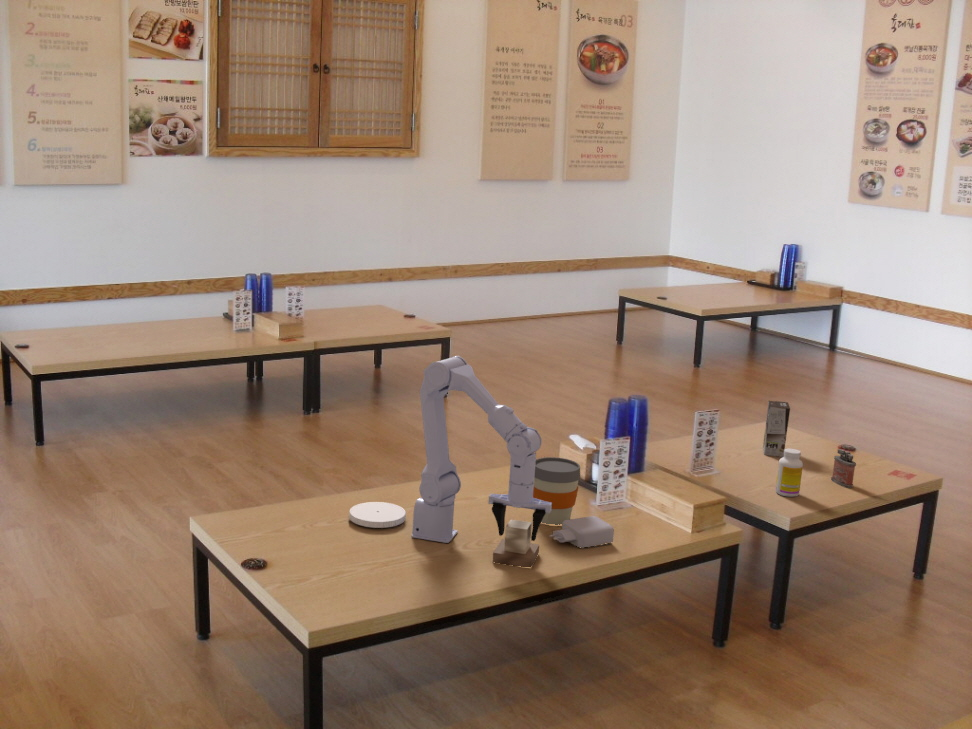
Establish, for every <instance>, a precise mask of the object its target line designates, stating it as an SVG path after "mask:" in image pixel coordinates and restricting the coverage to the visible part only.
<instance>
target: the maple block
mask: <svg viewBox="0 0 972 729" xmlns="http://www.w3.org/2000/svg"><path fill="white" fill-rule="evenodd" d="M532 528H533V521H532V522H531V521H525V520H518V519H510V520H509V521H508V523H507V524H506V525H505V530H504V533H505V534H504V539H505V547H504V551H508V552H514V553H521V554H526V552H527V551H528V549H529V548H530V543H531V542H532V541H531V536H532Z"/></svg>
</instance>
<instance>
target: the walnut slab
mask: <svg viewBox="0 0 972 729" xmlns="http://www.w3.org/2000/svg"><path fill="white" fill-rule="evenodd" d="M504 547H505V538H501V539H500V542H498V545H497V547H496V548H495V550H493V553H492V563H493V562H495V563H494V564H496V563H500V564H499V565H502V564H506V565H505V566H509V565H513V566H512V567H515V566H521V567H531V566H532V565H534V564H535V562H536V560H537V558H538V557H537V555H538V553H539V554H540V544H538V543H531V542H530V548H529V549H528V551H527V552H526V554H521V553H514V552H508V551H504ZM538 556H539V555H538ZM536 557H537V558H536ZM535 559H536V560H535ZM534 561H535V562H534ZM533 563H534V564H533ZM521 567H520V568H521ZM532 567H533V566H532Z"/></svg>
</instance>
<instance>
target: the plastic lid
mask: <svg viewBox="0 0 972 729" xmlns="http://www.w3.org/2000/svg"><path fill="white" fill-rule="evenodd" d="M348 514H349V515H348V517H349V520H350V521H351V522H352V523H354V524H356V525H358V526H362V527H366V528H373V529H375V528H377V529H378V528H379V529H380V528H381V529H383V528H392V527H397V526H398V525H401V524H403V523H404V522H405V521H406V518H407V515H406V514H407V512H406V510H405V509H404V508H403V507H402V506H400V505H397V504H395V503H391V502H386V501H384V502H383V501H369V502H361V503H358V504H355V505H353V506H351V507H350V509H349V512H348Z"/></svg>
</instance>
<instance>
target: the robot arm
mask: <svg viewBox="0 0 972 729" xmlns="http://www.w3.org/2000/svg"><path fill="white" fill-rule="evenodd" d="M422 372H423V380H422V383H421V386H420V389H419V394H420V407H421V417H422V425H423V426H422V427H423V436H424V445H425V447H424V448H425V455H426V456H425V458H426V465H425V466H424V468H423V470H422V472H421V475H420V476H421V478H420V479H421V482H420V485H419V490H418V491H419V495H420V497H418V498H417V499H416V500H415V503H414V508H413V515H412V517H413V518H412V531H411V532H412V533H411V536H410V537H411V538H413V539H414V538H415V539H418V540H420V539H421V540H426V541H432V542H438V543H439V542H440V543H446V544H448V543H450V542H451V541H452V540H453V538H454V537H455V536H456V535H457V533H458V529H454V514H455V512H454V511H455V501H456V500H455V499H456V495H457V494H458V493H459V492H460V490H461V488H462V487H461V486H462V481H461V478H460V476H459V474H458V472H457V466H456V465H455V464H454V463H453V461H451V460H450V451H449V449H450V448H449V440H448V439H449V438H448V431H447V427H448V426H447V419H446V408H445V400H444V398H445V396H446V395H447V393H449V392H450V391H456V392H457V391H458V392H464V393H465V394H466V395H467V396H468V397H469V399H471V400H472V401H473V402H475V403H476V405H477V406H479V408H481V409H482V410H483V411H484V412H485V413H486V414H487V422H488V424H490V426H491V427H492V428H493V430H495V432H496V433H498V435H499V436H500V437H501V438H502V439H503V440H504V441H505V442H506V449H507V452H508V453H509V454H510V455H509V456H510V460H509V461H510V463H509V464H510V466H509V478H508V479H509V480H508V493H507V494H505V493H504V494H501V493H498V494H497V493H490V494H489V496H488V501H487V502H488V503H487V504H488V505H492V507H491V512H492V514H493V516H494V518H495V521H496V524H497V528H498V536H500V537H502V536H504V535H505V534H504V533H505V529H506V525H505V523H506V520H505V518H506V511H507V510H506V509H507V506H508V507H513V508H517V509H520V508H521V509H527V510H533V511H534V510H535V512H533V513H532V528H531V542H532V541H533V542H534V541H535V540H536V539H537V534H538V531H539V528H540V526H541V524H540V523H541V521H542V519H543V517H544V515H545V514H546V513H550V512H551V508H552V503H551V502H546V501H542V500H539V499H536V498H533V489H534V477H535V464H536V459H537V451H538V450H540V449H541V446H542V438H541V435H540V433H539V432H538V430H537V429H536V428H534V427H529V426H528V425H527V424H526V423H523V421H521V419H520V418H519V416H517V415H516V414H515V412H514V411H515V410H514V408H512V407H511V406H510V407H509V406H508V405H506V404H499V403H498V401H497V400H496V399H495V397H493V395H492V394H491V393H490V392H489V391H488V389H487V388H486V387H485V386H484V385H483V383H482V381H481V380H480V379H478V377H477V376H476V374H475V372H474V368H473V367H472V365H470V364H469V363H468V362H467V360H466V359H465V358H463V357H462V356H460V355H454V356H450V357H449V358H445V359H441V360H439V361H437V360H436V361H433V362H431V363H430V364H429V365H428V366H427V367H426V368H425V369H424V370H422Z"/></svg>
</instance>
